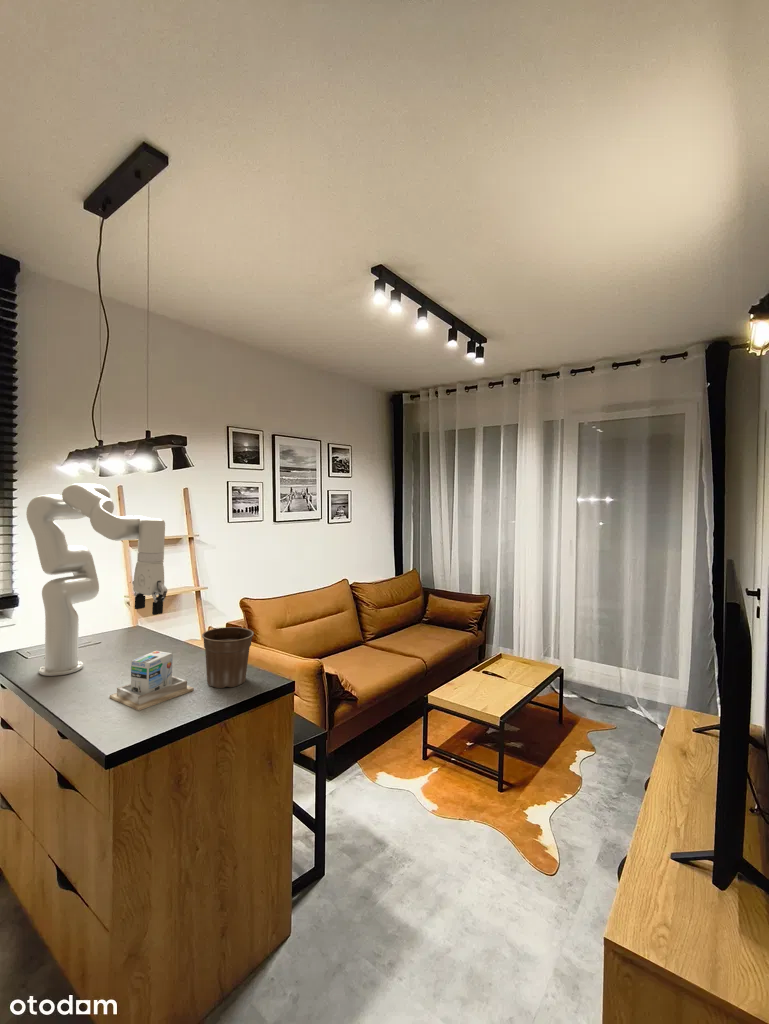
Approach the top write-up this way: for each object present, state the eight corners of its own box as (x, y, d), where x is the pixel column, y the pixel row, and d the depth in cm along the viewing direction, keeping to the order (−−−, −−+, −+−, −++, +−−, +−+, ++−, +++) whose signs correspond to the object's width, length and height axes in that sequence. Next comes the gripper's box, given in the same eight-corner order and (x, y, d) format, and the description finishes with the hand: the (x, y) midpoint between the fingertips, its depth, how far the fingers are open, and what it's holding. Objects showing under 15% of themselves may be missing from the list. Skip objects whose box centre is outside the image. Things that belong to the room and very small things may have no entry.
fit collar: (109, 697, 145) (109, 687, 145) (164, 679, 161) (164, 670, 161) (138, 710, 137) (139, 700, 137) (193, 690, 153) (193, 680, 153)
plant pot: (261, 676, 166) (263, 629, 166) (234, 694, 151) (235, 642, 150) (220, 670, 171) (221, 624, 170) (190, 687, 155) (191, 637, 155)
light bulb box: (148, 699, 143) (149, 663, 143) (129, 696, 145) (130, 660, 145) (173, 686, 154) (173, 652, 153) (154, 683, 155) (155, 650, 155)
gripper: (124, 555, 155) (121, 608, 156) (155, 562, 145) (153, 618, 146) (146, 553, 161) (144, 604, 162) (178, 560, 152) (175, 614, 152)
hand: (148, 611), depth 154 cm, fingers open, 9 cm apart
